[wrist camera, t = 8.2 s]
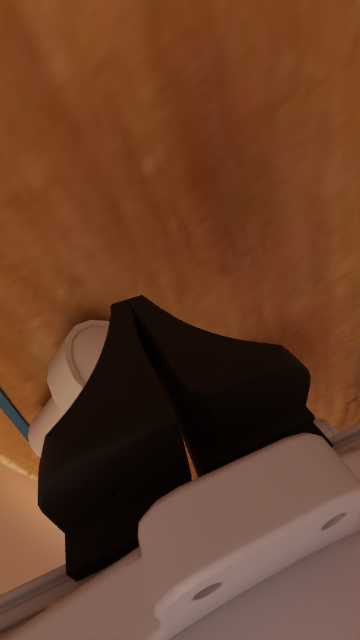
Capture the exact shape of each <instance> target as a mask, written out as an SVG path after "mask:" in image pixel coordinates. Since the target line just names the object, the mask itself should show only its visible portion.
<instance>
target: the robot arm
mask: <svg viewBox="0 0 360 640" xmlns="http://www.w3.org/2000/svg"><path fill="white" fill-rule="evenodd" d="M110 308H111V315H110V323H109V327H108V332H107V336H106V339H105V342H104V346H103V349H102V351H101V354H100V357H99V359H98V361H97V363H96V366H95V368H94V370H93V372H92V373H91V375H90V377H89V379H88V381H87V383H86V384H85V386H84V388H83V389H82V391H81V392H80V394H79V395H78V396H77V398H76V399H75V401H74V402H73V404H72V405H71V406H70V408H69V409H68V410H67V411H66V413H65V414H64V415H63V416H62V417H61V418H60V420H59V421H58V422H57V423H56V424H55V425H54V427H53V428H52V429H51V430H50V431H49V432H48V433H47V434H46V436H45V439H44V443H43V448H42V453H41V459H40V464H39V473H38V506H39V508H40V509H41V511H42V512H43V514H44V515H46V516H47V517H48V518H49V519H50V520H51V521H52V522H53V523H54V524H55V525H56V526H57V527H58V528H59V529H60V530H62V531H63V532H64V533H65V552H66V564H64V565H62V566H60V567H58V568H56V569H54V570H52V571H50V572H48V573H46V574H43V575H41V576H39V577H37V578H35V579H33V580H31V581H29V582H27V583H25V584H23V585H21V586H18V587H16V588H14V589H13V590H10V591H8V592H6V593H4V594H2V595H0V640H360V423H359V424H357V425H355V426H353V427H351V428H348V429H346V430H344V431H342V432H340V433H339V432H338V431H337V430H336V429H335V428H334V427H333V426H332V425H331V424H330V423H328V422H327V421H326V420H325V419H320V418H316V417H314V415H313V414H312V413H311V411H310V410H309V409H308V408H307V407H306V402H307V397H308V392H309V388H310V373H309V371H308V369H307V368H306V367H305V366H304V365H303V364H302V363H301V362H300V361H299V360H298V359H297V358H296V357H295V356H294V355H293V354H292V353H290V352H289V351H288V350H287V349H285V348H284V347H283V346H282V345H276V344H267V343H257V342H250V341H244V340H239V339H234V338H229V337H225V336H221V335H218V334H214V333H211V332H208V331H205V330H202V329H200V328H197V327H194V326H192V325H190V324H187V323H185V322H183V321H181V320H179V319H178V318H176V317H174V316H172V315H171V314H169V313H167V312H166V311H164V310H163V309H161V308H160V307H158V306H157V305H155V304H154V303H152V302H151V301H150V300H148V299H147V298H146V297H144V296H143V295H140V296H137V297H134V298H130V299H127V300H124V301H121V302H117V303H114V304H112V305H111V307H110ZM183 439H184V441H183ZM184 442H185V444H186V447H187V449H188V452H189V455H190V457H191V460H192V462H193V465H194V468H195V470H196V473H197V476H198V478H197V479H195V480H193V481H192V479H191V477H192V476H191V471H190V467H189V463H188V459H187V454H186V450H185V446H184Z"/></svg>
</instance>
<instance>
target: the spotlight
mask: <svg viewBox="0 0 360 640" xmlns="http://www.w3.org/2000/svg"><path fill="white" fill-rule="evenodd" d="M109 323H110V322H109V321H101V320H88V321H86V322H83V323H80V324H78V325H75V326H74V328H73V329H72V330H71V332H70V333H69V334H68V336H67V337H66V338H65V340H64V341H63V343H62V344H61V345H60V347H59V348H58V350H57V351H56V353H55V354H54V355H53V357H52V358H51V360H50V361H49V366H48V375H47V383H48V386H49V388H50V391H51V394H52V396H51V397H50V399H49V400H48V401H47V403H46V404H45V405H44V406H43V408H42V409H41V410H40V412H39V413H38V414H37V416H36V417H35V418H34V420H33V421H32V423H31V425H30V426H29V432H28V440H29V443H30V447H31V449H32V450H33V451H34V452H35V453H36V454H37V456H38V457H40V458H41V453H42V448H43V443H44V439H45V436H46V434H47V433H48V432H49V431H50V430H51V429H52V428H53V427H54V425H55V424H56V423H57V422H58V421H59V420H60V418H61V417H62V416H63V415H64V414H65V413H66V411H67V410H68V409H69V408H70V406H71V405H72V404H73V402H74V401H75V399H76V398H77V396H78V395H79V394H80V392H81V391H82V389H83V388H84V386H85V384H86V383H87V381H88V379H89V377H90V375H91V373H92V372H93V370H94V368H95V366H96V363H97V361H98V359H99V357H100V354H101V351H102V349H103V346H104V342H105V339H106V336H107V332H108V327H109Z"/></svg>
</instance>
